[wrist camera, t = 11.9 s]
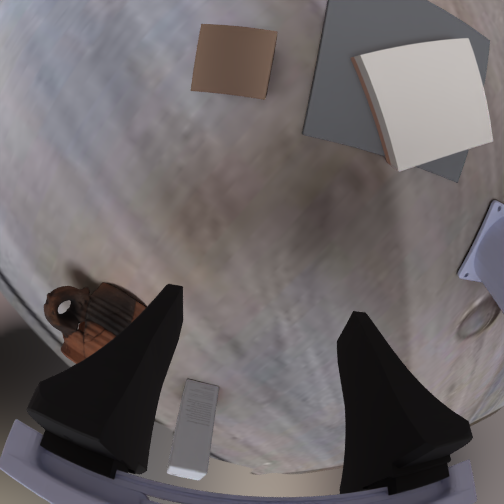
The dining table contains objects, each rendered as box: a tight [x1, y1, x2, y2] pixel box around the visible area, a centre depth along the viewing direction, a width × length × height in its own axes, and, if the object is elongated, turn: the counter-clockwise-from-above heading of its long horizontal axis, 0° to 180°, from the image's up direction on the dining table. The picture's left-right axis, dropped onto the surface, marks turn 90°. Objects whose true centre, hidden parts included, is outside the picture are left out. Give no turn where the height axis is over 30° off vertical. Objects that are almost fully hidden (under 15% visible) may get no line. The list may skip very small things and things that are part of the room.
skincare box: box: [167, 379, 219, 480], centre depth 29 cm, size 6×4×12 cm
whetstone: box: [351, 38, 493, 172], centre depth 13 cm, size 8×2×7 cm
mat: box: [302, 0, 490, 183], centre depth 13 cm, size 12×12×1 cm
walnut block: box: [191, 24, 277, 100], centre depth 12 cm, size 3×3×6 cm
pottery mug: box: [44, 283, 146, 364], centre depth 24 cm, size 12×10×8 cm
